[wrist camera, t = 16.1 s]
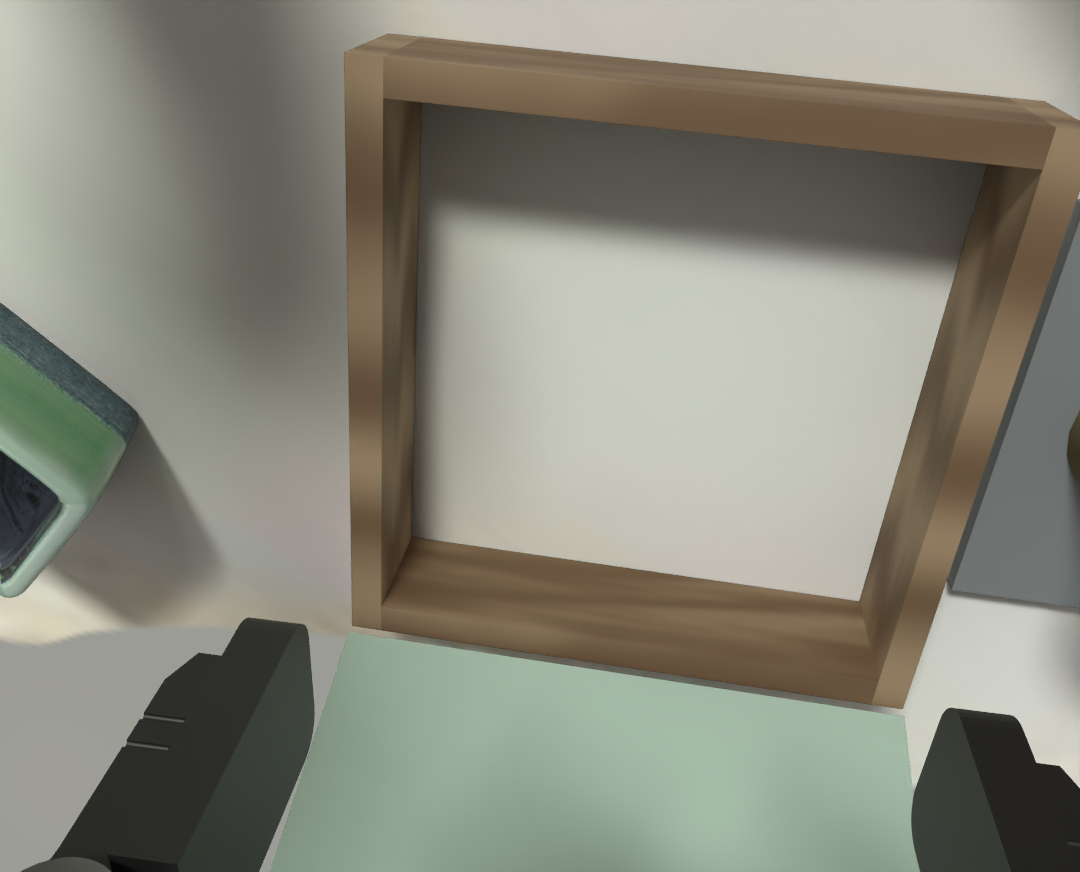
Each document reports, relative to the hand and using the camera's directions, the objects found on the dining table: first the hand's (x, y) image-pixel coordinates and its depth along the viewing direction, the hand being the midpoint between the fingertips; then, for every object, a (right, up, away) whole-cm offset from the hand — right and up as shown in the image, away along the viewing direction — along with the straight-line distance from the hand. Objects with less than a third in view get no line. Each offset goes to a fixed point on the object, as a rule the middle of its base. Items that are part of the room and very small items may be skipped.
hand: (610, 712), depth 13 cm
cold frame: (+4, +6, +26) cm, 27 cm away
